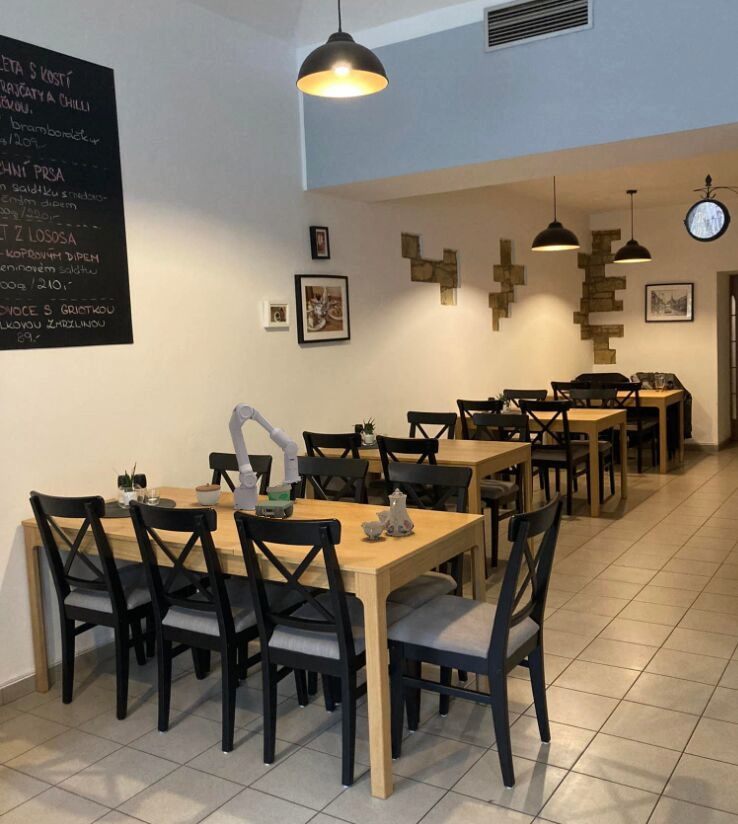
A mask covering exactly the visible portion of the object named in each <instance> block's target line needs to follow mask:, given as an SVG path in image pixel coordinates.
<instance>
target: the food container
mask: <svg viewBox="0 0 738 824" xmlns="http://www.w3.org/2000/svg"><path fill="white" fill-rule="evenodd" d="M290 489H292V488H291V485H290V483H289V484H288V485H286V486H283V484H282V485H281V484H280V485H275V486H266V491H265V492H267V496H268V497H267V498H268V500H269V501H290Z"/></svg>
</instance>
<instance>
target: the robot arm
mask: <svg viewBox="0 0 738 824" xmlns="http://www.w3.org/2000/svg"><path fill="white" fill-rule="evenodd" d="M248 420H251V421H254V422H256V423H258V424H259V426H261V427H262V428H263V429H264V430H265V431H267V432H268V433H269V438H270V439H271V441H273V442H274V443H275V444H276V445H277V446H278V447H279V448H280V449H281V450H282V451H283V463H284V464H283V466H284V480H283V481H282V485H283V486H286V485H288V484H289V483H290V485H291V488H292V489H290V501H294V502H295V501H296V499H297V493H298V490H299V487H300V486H301V485H300V484H301V483H300V482H301V481H302V478H301V475H300V476H299V466H298V465H299V464H298V463H299V462H298V461H299V460H298V452H299V447H298V444H297V443H296V442H295V441H293V438H292V437H290V436H289V435H288V434H287V433H285V430H284V429H283V428H280V427H274V425H273V424H272V423H271V422H270V421H269V420H267V418H266V417H265V416H264V415H263V414H262V413H261V412H259V410H257V409H255V408H254V407H252V406H251V405H250V404H247V403H245V402H239V403H237V405H236V406H235V407H233V409H232V413H231V417H230V419H229V422H228V429H229V433H230V437H231V441H232V445H233V448H234V453H235V457H236V460H237V464H238V465H237V466H238V470H239V474H238V481H239V482H240V485H239V486H236V487H235V489H234V491H233V504H234V506H233V510H237V511H238V510H240V509H243V510H242V511H244V510H246V511H254V510H255V511H256V509H255V505H257V504H259V501H258V499H259V498H258V484H257V483H258V477H257V475H256V474H255V473H254V471H253V467H252V465H251V463H250V458H249V455H248V450H247V447H246V446H247V445H246V442H245V439H244V434H243V430H242V427H243V425H245V423H246V422H247V421H248ZM240 511H241V510H240Z"/></svg>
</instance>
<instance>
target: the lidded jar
mask: <svg viewBox="0 0 738 824" xmlns="http://www.w3.org/2000/svg"><path fill="white" fill-rule="evenodd" d="M194 489H195V495H196V499H197V501H198V502H199V504H200V505H201V506H202V505H212V506H216V505H217V503H218V502H219V501H220V499H221V491H222V490H221V489H222V487H221V485H219V484H210V483H209V482H207V483H206V484H205V485H203V484H202V485H199V486H196V487H195V488H194Z"/></svg>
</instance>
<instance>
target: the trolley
mask: <svg viewBox="0 0 738 824" xmlns="http://www.w3.org/2000/svg"><path fill="white" fill-rule="evenodd" d="M294 502H295V501H269V499H268V500H267V499H266V500H264V501H262V502H258V504H257V505H255V513H254V514H255V516H256V515H257V516H265V517H266V515H267V516H274V519H275V518H283V519H284V517H285V516H286V517H291V516H293V514H294Z"/></svg>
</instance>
